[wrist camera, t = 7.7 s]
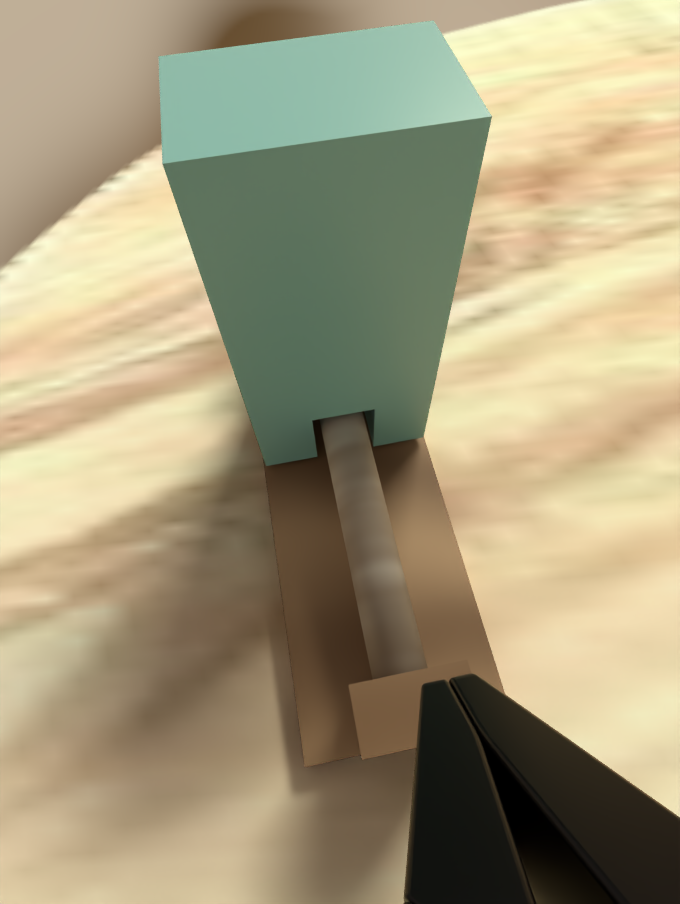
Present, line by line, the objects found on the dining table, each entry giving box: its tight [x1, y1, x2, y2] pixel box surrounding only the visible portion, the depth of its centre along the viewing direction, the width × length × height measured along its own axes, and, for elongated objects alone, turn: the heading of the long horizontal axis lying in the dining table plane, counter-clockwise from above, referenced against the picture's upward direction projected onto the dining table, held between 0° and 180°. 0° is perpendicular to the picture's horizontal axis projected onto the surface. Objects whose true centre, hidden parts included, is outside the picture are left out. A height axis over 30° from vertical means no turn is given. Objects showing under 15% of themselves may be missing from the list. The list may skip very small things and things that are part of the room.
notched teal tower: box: [159, 21, 492, 466], centre depth 16 cm, size 4×6×12 cm, turn 101°
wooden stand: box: [263, 411, 505, 767], centre depth 18 cm, size 18×6×5 cm, turn 11°
